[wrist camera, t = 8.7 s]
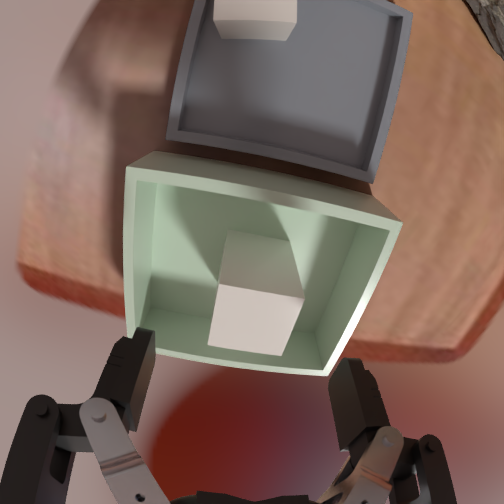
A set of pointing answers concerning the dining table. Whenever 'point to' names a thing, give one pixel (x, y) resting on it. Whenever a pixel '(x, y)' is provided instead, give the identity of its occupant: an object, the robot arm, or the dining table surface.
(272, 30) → the smooth off-white cube
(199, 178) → the green bin
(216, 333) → the off-white rectangular block
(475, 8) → the rock
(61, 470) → the robot arm
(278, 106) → the slate tray
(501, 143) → the dining table surface
